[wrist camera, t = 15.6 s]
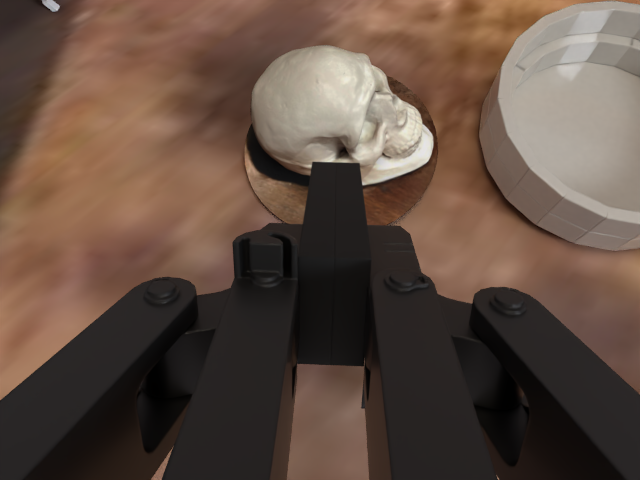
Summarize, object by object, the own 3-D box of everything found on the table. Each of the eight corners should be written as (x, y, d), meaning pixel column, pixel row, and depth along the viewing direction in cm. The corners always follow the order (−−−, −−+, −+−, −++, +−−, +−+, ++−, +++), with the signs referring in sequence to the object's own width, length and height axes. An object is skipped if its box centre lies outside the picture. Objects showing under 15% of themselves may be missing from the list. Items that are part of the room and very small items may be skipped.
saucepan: (464, 227, 31) (486, 195, 27) (489, 37, 36) (511, -16, 31) (715, 275, 30) (779, 250, 25) (706, 71, 34) (759, 22, 30)
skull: (452, 62, 34) (476, 75, 24) (414, 210, 38) (422, 271, 28) (272, 29, 34) (227, 29, 25) (254, 178, 38) (209, 227, 29)
